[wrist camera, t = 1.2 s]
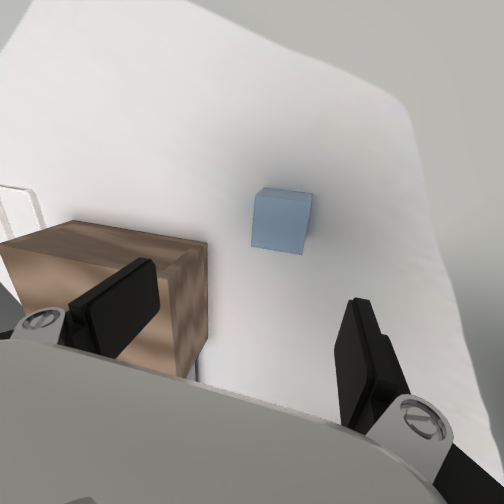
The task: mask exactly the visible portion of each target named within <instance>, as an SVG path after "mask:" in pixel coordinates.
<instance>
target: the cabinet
mask: <svg viewBox="0 0 504 504" xmlns="http://www.w3.org/2000/svg"><path fill="white" fill-rule="evenodd" d="M0 255H1V257H2V259H3V262H4V264H5V266H6V269H7V271H8V273H9V276H10V278H11V280H12V283H13V285H14V288H15V290H16V292H17V295H18V297H19V299H20V302H21V304H22V306H23V309H24V311H25V313H26V316H27V315H29V314H30V313H32V312H35V311H37V310H40V309H44V308H50V307H59V308H62V309H63V310H64V311H65V313H66V312H67V311H68V310H69V307H68V304H69V303H70V302H72V301H73V300H75V299H76V298H78V297H79V296H81V295H82V294H84V293H85V292H87V291H88V290H90V289H91V288H93V287H94V286H96V285H98V284H99V283H101V282H102V281H104V280H105V279H107V278H108V277H110V276H111V275H113V274H114V273H116V272H117V271H119V270H120V269H122V268H123V267H125V266H127V265H128V264H130V263H131V262H133V261H134V260H136V259H137V258H139V257H142V258H148V259H151V260H152V261H153V262H154V263H155V265H156V272H157V280H158V289H159V297H160V310H159V312H158V313H157V314H156V315H155V316H154V318H153V319H152V320H151V321H150V322H149V323H148V324H147V325H146V326H145V327H144V328H143V330H142V331H141V332H140V333H139V334H138V335H137V336H136V337H135V338H134V339H133V340H132V342H131V343H130V344H129V345H128V346H127V347H126V348H125V349H124V350H123V351H122V352H121V354H120V355H119V356H118V357H117V358H116V360H119V361H123V362H127V363H130V364H134V365H138V366H141V367H145V368H149V369H152V370H156V371H159V372H163V373H167V374H170V375H174V376H177V377H181V378H184V379H186V378H187V376H188V374H189V372H190V370H191V368H192V367H193V365H194V363H195V361H196V359H197V357H198V356H199V354H200V352H201V350H202V348H203V346H204V345H205V343H206V341H207V339H208V292H207V243H204V242H199V241H193V240H187V239H181V238H175V237H169V236H163V235H157V234H151V233H145V232H140V231H134V230H128V229H122V228H116V227H110V226H104V225H98V224H92V223H86V222H81V221H75V220H72V221H69V222H66V223H62V224H59V225H56V226H53V227H50V228H47V229H43V230H40V231H37V232H34V233H31V234H27V235H24V236H21V237H18V238H15V239H12V240H8V241H5V242H2V243H0Z"/></svg>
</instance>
